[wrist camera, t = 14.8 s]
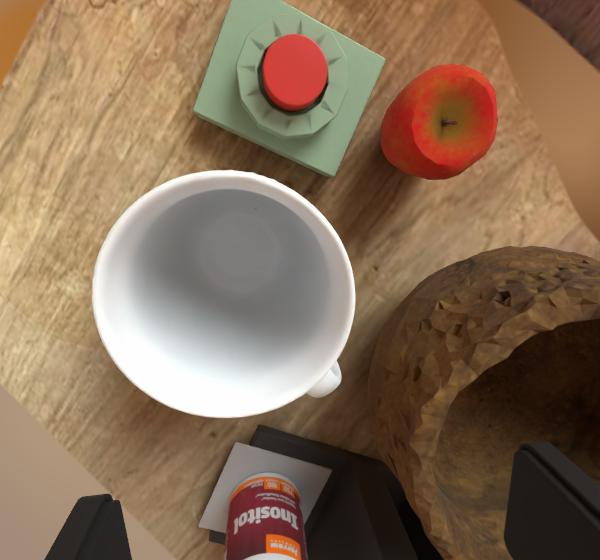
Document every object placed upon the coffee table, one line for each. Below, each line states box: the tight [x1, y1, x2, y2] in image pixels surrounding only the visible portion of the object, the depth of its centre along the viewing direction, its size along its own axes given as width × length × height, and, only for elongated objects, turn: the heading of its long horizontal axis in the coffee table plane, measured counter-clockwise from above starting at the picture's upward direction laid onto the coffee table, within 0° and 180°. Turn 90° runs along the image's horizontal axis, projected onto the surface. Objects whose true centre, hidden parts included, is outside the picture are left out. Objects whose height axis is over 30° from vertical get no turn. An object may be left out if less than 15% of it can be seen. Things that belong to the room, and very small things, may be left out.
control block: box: [193, 0, 386, 177], centre depth 24 cm, size 10×8×4 cm
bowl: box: [368, 246, 600, 560], centre depth 25 cm, size 19×19×15 cm
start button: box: [262, 34, 328, 111], centre depth 21 cm, size 4×4×2 cm
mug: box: [92, 170, 355, 418], centre depth 22 cm, size 15×11×13 cm
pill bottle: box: [224, 472, 308, 560], centre depth 27 cm, size 6×6×11 cm
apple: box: [380, 64, 498, 180], centre depth 24 cm, size 6×6×8 cm
